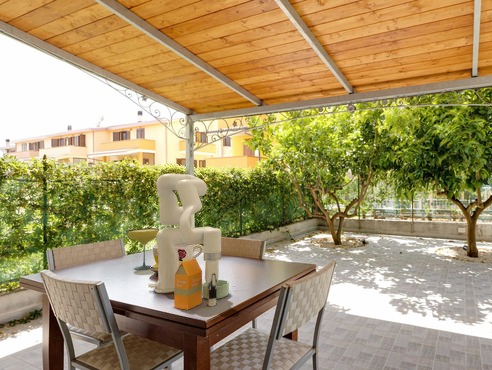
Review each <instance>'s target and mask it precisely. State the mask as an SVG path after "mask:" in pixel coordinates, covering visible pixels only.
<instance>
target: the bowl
mask: <svg viewBox="0 0 492 370" xmlns="http://www.w3.org/2000/svg"><path fill="white" fill-rule="evenodd" d="M216 289H217V298H216V300H219V299H223V298H225V297H227V296H228V295H229V294H230V282H229V281H228V280H225V279H218V282H217V283H216ZM202 298H204V299H206V300H208V284H207V283H206V281H205V282H202Z"/></svg>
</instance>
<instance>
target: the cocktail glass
mask: <svg viewBox="0 0 492 370" xmlns="http://www.w3.org/2000/svg"><path fill="white" fill-rule="evenodd" d="M160 230H161V229H160V228H155V227H153V228H151V227H150V228H149V227H148V228H134V229H129V230H128V233H127V234H128V235H127V236H128V238H130V239H131V240H133V241H135V242H138V243H140V244H141V246H143V262H142V265H140V266H136V267H135V268H134V270H136V271H146V270H150V269H149V268H150V267H151V266H152V265H146V248H145V247H146V246H147V244H148V243H149V242H151V241H153V240H155V239H156V236H157V233H158V232H159V231H160Z"/></svg>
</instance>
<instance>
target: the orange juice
mask: <svg viewBox="0 0 492 370" xmlns="http://www.w3.org/2000/svg"><path fill="white" fill-rule="evenodd" d="M173 293H174V300H173V301H174V303H173V305H174V306H173V307H174V308H175V309H181V310H186V311H187V310H191V309H193V308H195V307H196V306H199V305H201V304H203V270H202V268H201V266H200V265H199V262H198V260H197V258H192V259H188V260H185V261H182V262H181V263H180V264H179V268H178V270H177V272H176V273H175V288H174V292H173Z"/></svg>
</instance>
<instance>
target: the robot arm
mask: <svg viewBox="0 0 492 370" xmlns="http://www.w3.org/2000/svg"><path fill="white" fill-rule="evenodd" d="M156 191H157V195H158V200H159V205H158V206H159V222H160V224H161V225H162V226H166V227H167V226H175V227H167V228H163V229H159V230H160V231H159V232H158V233H157V236H156V238H155V239H156V244H157V253H158V258H157V260H158V262H157V263H158V264H157V265H158V269H157V275H158V277H157V279H158V280H157V281H155V282H151V283H148V284H147V286H148V287H147V288H150V289H154V292H155V293H157V294H169V293H174V288H175V273H176V272H177V270H178V268H179V266H180V254H179V252H178V250H177V249H176V247H177V246H183V245H188V246H195V245H201V244H203V261H204V262H205V266H204V268H205V269H204V280H205V282H206V283H207V284H208V285H209V284H210V290H209V299H215V298H217V289H216V283H217V282H218V280H219V275H220V274H219V273H220V272H219V268H220V267H219V263H220V261H221V260H222V230H221V229H220V228H217V227H212V226H198V227H193V215H195V214H196V213H198V212H200V211H201V210H202V209H203V203H202V200H201V198H200V197H204V196H205V195H206V194H207V191H208V185H207V183H206V182H205V181H204V180H203V179H201V178H199V177H197V176H195V175H193V174H186V173H164V174H161V175H159V177H158V178H157V181H156ZM174 191H176V192H177V194H178V197H179V200H180V203H181V206H179V205H178V197H177V195H176V193H175V192H174ZM178 225H179V226H178ZM176 226H177V227H176ZM211 284H212V285H211Z"/></svg>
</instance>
